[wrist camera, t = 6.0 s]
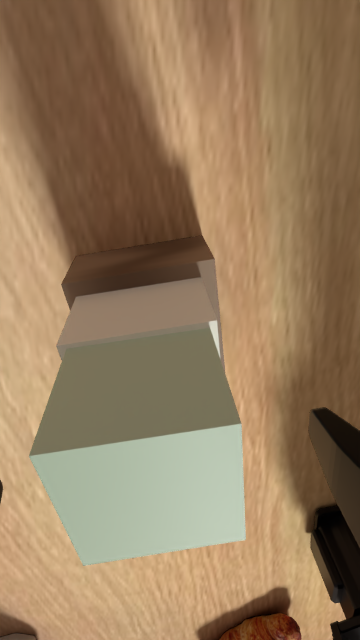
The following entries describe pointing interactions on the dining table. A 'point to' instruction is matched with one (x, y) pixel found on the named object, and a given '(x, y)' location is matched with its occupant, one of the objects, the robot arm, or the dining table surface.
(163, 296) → the cream middle block
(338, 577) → the robot arm
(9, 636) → the salt shaker
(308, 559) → the dining table surface
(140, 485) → the sage block
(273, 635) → the croissant
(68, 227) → the dining table surface
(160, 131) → the dining table surface
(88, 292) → the walnut base block
